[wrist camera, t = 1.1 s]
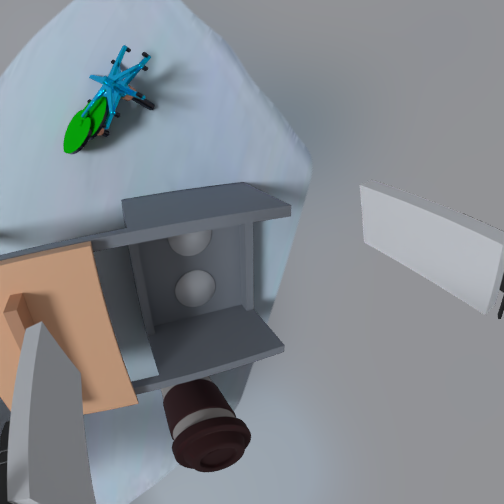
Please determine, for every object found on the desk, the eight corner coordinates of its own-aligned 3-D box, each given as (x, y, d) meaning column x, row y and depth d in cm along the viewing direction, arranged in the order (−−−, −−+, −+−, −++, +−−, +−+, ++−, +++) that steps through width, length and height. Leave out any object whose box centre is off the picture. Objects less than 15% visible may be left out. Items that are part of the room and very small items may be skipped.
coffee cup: (205, 399, 48) (243, 472, 36) (146, 401, 43) (173, 482, 31) (221, 354, 46) (268, 429, 33) (156, 352, 41) (187, 440, 28)
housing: (21, 355, 32) (12, 415, 23) (-26, 232, 25) (-62, 275, 16) (246, 305, 44) (284, 351, 36) (243, 182, 37) (291, 205, 28)
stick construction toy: (120, 31, 23) (149, 59, 20) (163, 62, 29) (197, 95, 27) (48, 126, 26) (63, 172, 24) (95, 144, 33) (118, 187, 30)
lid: (19, 416, 23) (18, 441, 21) (-56, 274, 16) (-71, 296, 13) (136, 396, 29) (143, 422, 26) (90, 240, 22) (89, 260, 19)
